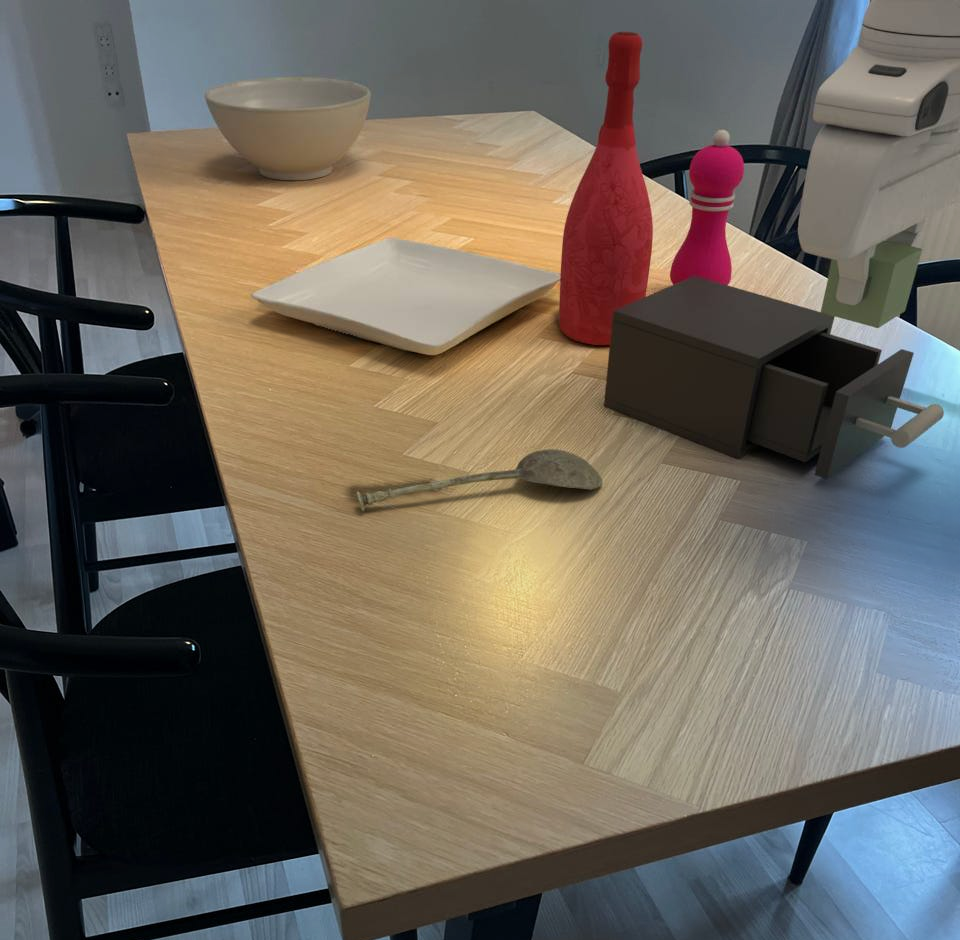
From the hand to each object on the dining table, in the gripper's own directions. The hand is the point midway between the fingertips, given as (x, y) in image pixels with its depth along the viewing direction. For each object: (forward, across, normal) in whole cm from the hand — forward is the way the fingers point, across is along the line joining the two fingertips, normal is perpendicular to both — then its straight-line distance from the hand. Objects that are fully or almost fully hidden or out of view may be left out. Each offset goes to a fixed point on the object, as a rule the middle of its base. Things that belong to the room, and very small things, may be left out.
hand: (868, 290), depth 73 cm
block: (+2, 0, 0) cm, 2 cm away
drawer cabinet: (+19, -10, -17) cm, 27 cm away
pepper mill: (+19, -32, -33) cm, 49 cm away
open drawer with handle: (+18, -10, -5) cm, 21 cm away
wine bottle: (+19, -18, -37) cm, 45 cm away
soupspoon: (+18, +18, -22) cm, 34 cm away
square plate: (+18, -7, -57) cm, 60 cm away
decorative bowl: (+18, -39, -118) cm, 125 cm away
